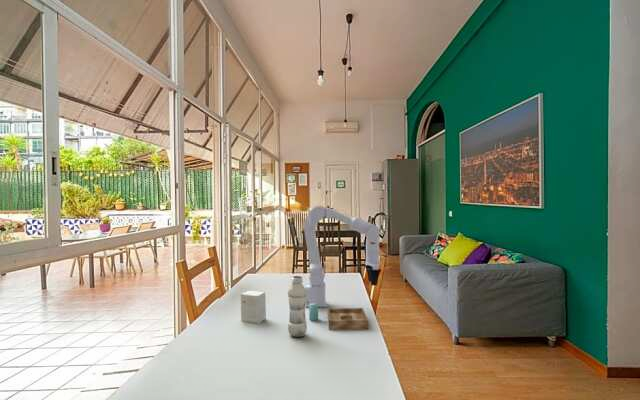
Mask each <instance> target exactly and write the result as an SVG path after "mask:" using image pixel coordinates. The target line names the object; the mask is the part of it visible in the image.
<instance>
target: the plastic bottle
mask: <svg viewBox="0 0 640 400" xmlns="http://www.w3.org/2000/svg"><path fill="white" fill-rule="evenodd" d="M291 283H292V284H291V285H290V287H289V288H288V291H287V295H288V304H289V319H288V327H287V329H288V333H289V335H290V336H291V337H296V338H300V337H304V336H305V335H306V333H307V331H308V330H307V329H308V327H307V326H308V325H307V321H306V320H307V319H306V307H305V300H306V289H305V285H303V283H304V281H303V276H302V275H301V276H300V275H293V276H292V277H291Z"/></svg>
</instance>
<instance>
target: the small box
mask: <svg viewBox="0 0 640 400" xmlns="http://www.w3.org/2000/svg"><path fill="white" fill-rule="evenodd" d="M266 301H267V300H266V292H263V291H256V290H247V291H245V292H242V293H240V317H241V320H240V321H242V322H249V323H255V324H259V323H261V322H263V321H264V320H266V319H267V312H266V311H267V309H266V306H267V305H266Z"/></svg>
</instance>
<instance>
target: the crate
mask: <svg viewBox="0 0 640 400" xmlns="http://www.w3.org/2000/svg"><path fill="white" fill-rule="evenodd" d="M327 323H328V330H332V331H333V330H369V319H368V317H367V315H366V313H365V310H364V308H363V307H352V308H351V307H344V308H343V307H342V308H341V307H340V308H337V307H336V308H334V307H333V308H331V307H330V308H327Z"/></svg>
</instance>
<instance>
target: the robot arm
mask: <svg viewBox="0 0 640 400" xmlns="http://www.w3.org/2000/svg"><path fill="white" fill-rule="evenodd" d="M323 219H335V220H336V221H339V222H341V223H343V224H344V223H345V224H347V225H348V226H349V229H350V230H352V231H356V232H357V233H359V234H362V235H366V241H365V265H364V267H365V271H366V273H367V279H368V282H370V283H371V286H377V285H378V280H379V276H380V274H381V273H382V269H381V268H379V266H380V265H382V264H383V262H382V261H380V238H379V236H380V234H381V231H380V229H379V227H378V226H377V225H375V224H373V223H372V222H371V221H366V220H364V219H362V218H361V217H360V216H358V217H357V216H355V217H350V216H348V215H345V214H343V213H341V212H339V211H338V210H335V209H333V208H330V207H326V206H323V205H321V204H320V205H315V206H313V207H312V208H311V209H310V210H309V211H308V213H307V216H306V218H305V220H304V222H303V231H304V236H305V238H304V239H305V243H306V249H307V254H308V260H309V278H308V280H309V284H305V285H304V288H305V289H306V300H305V308H309V304H310V303H317V304H318V308H321V307H322V308H325V307H326V308H327V307H328V305H327V299H326V282H325V281H324V280H325V277H326V272H325V270H324V268H323V267H322V263H321V259H320V252H319V245H318V241H317V236H316V235H317V234H316V226H317V225H318V224H319V222H320V221H321V220H323Z"/></svg>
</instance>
